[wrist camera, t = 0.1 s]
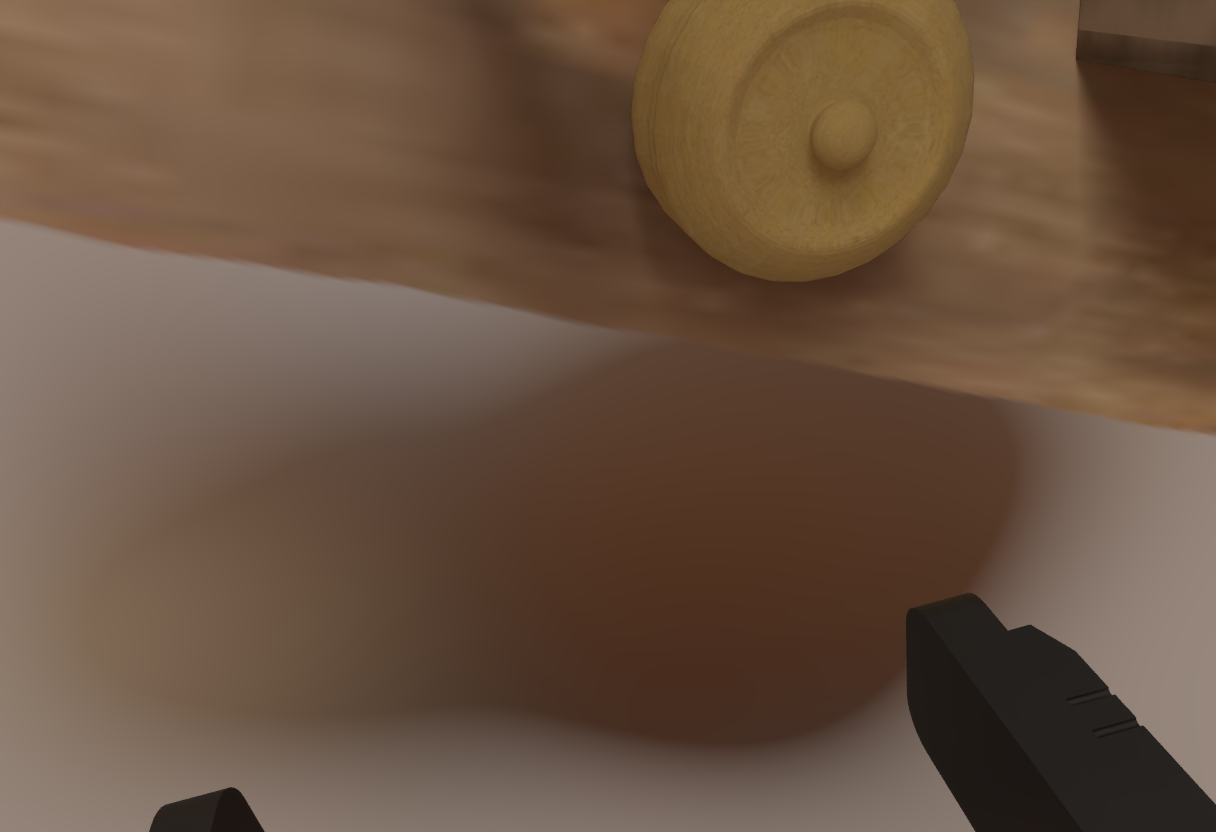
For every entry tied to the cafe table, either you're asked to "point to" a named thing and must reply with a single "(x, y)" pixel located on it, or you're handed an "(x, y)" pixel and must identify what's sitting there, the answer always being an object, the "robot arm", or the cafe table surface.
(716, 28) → the pot
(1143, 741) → the robot arm
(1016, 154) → the cafe table surface
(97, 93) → the cafe table surface
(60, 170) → the cafe table surface
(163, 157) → the cafe table surface
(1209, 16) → the wood grain block
